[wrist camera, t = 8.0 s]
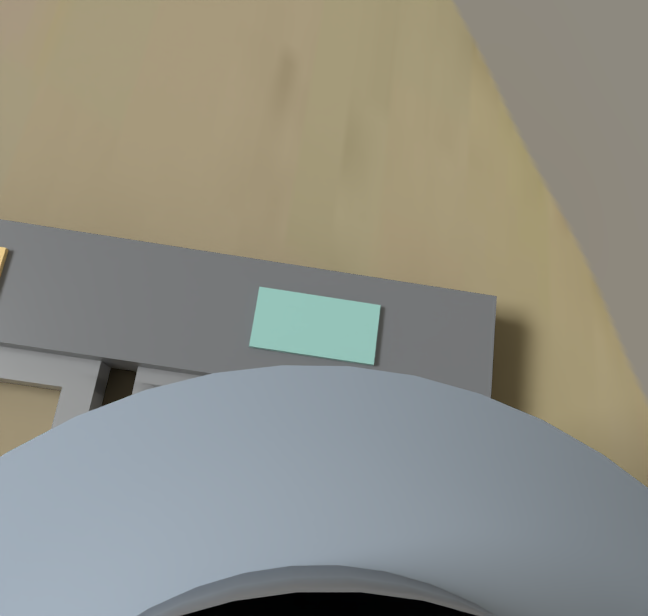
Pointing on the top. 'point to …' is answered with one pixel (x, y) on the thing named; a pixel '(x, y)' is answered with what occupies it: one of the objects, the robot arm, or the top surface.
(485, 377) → the parallel gray bars
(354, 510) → the pale blue cylinder
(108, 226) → the top surface
